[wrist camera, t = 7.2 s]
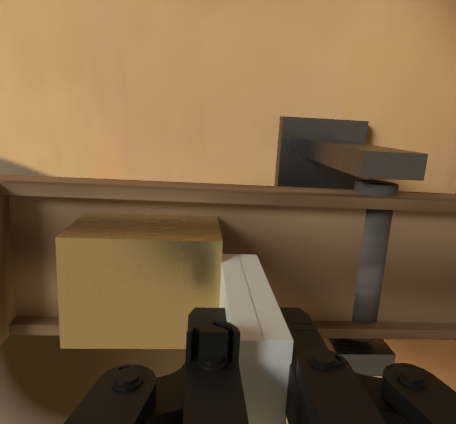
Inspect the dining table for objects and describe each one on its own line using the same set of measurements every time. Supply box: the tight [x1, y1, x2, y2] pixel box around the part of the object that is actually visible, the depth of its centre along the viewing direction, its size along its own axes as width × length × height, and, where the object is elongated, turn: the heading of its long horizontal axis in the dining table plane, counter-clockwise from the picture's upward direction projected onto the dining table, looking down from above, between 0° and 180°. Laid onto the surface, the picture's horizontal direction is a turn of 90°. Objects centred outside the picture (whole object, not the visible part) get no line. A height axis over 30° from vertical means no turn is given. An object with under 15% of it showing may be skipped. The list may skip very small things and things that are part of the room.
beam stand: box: [275, 117, 428, 376], centre depth 25 cm, size 14×6×12 cm, turn 177°
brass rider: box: [55, 212, 223, 349], centre depth 17 cm, size 4×6×4 cm
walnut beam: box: [0, 175, 456, 345], centre depth 19 cm, size 8×36×6 cm, turn 87°
